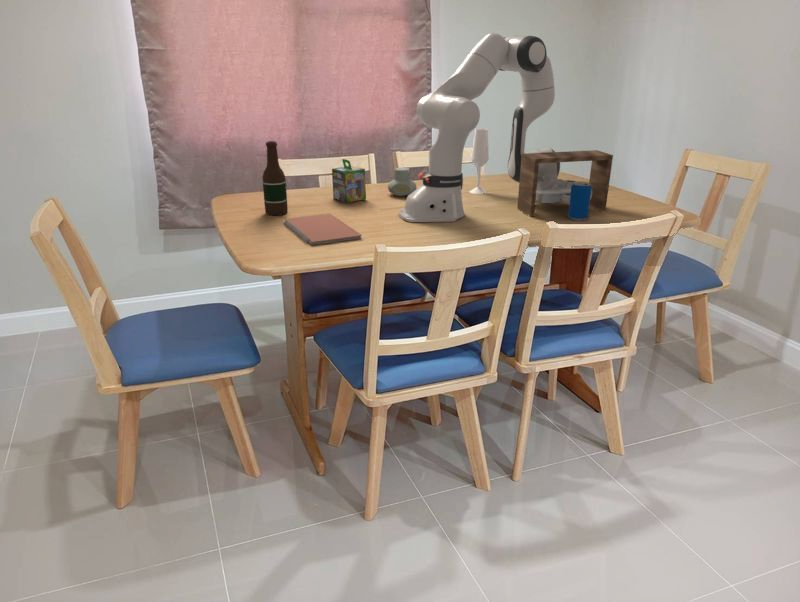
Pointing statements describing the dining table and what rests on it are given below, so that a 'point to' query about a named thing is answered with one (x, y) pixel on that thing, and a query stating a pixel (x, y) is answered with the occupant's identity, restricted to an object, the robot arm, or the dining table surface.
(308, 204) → the dining table surface
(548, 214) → the dining table surface
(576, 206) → the beverage can
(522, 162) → the walnut riser shelf
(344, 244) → the dining table surface
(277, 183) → the beer bottle
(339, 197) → the chalk box
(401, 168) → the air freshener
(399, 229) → the dining table surface
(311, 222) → the notebook
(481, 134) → the champagne flute
